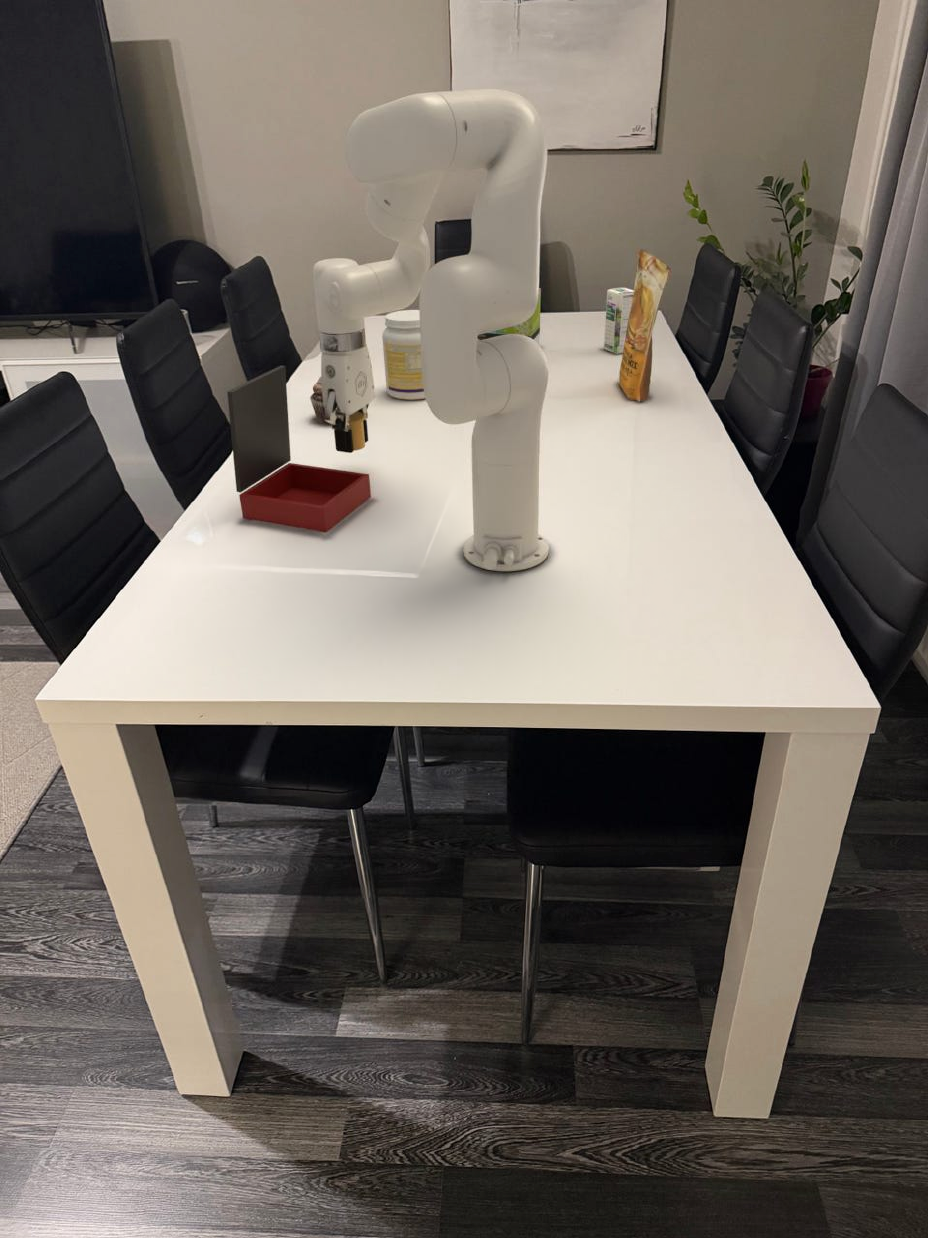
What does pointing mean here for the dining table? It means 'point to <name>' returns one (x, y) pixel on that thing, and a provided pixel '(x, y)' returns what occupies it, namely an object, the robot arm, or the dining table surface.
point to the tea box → (521, 326)
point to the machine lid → (259, 427)
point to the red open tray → (306, 497)
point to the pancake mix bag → (642, 325)
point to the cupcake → (319, 402)
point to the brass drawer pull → (357, 429)
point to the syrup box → (617, 318)
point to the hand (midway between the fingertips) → (352, 445)
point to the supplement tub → (403, 355)
